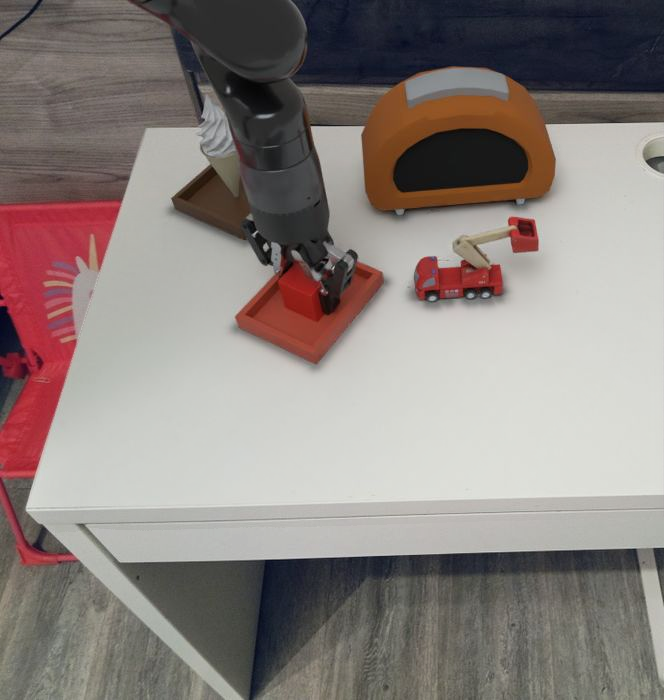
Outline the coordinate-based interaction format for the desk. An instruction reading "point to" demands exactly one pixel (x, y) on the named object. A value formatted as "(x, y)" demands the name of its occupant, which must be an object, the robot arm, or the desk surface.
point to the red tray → (299, 331)
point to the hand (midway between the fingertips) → (312, 300)
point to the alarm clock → (455, 142)
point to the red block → (300, 293)
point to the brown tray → (213, 202)
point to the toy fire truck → (473, 264)
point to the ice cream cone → (219, 145)
